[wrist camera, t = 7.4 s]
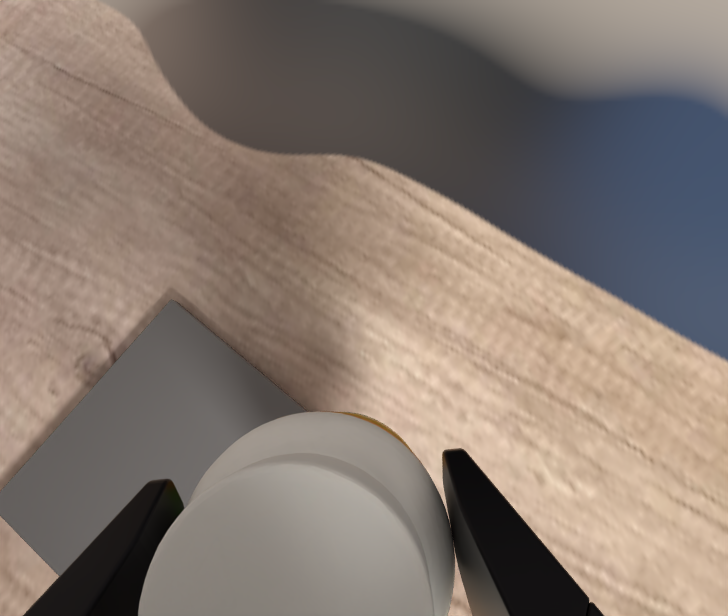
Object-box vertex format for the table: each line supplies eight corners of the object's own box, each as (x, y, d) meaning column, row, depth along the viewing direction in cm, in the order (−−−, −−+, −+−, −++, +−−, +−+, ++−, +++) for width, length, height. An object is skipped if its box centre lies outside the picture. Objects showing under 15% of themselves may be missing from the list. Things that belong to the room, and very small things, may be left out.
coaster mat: (187, 691, 18) (181, 701, 18) (0, 501, 20) (-12, 504, 19) (365, 459, 20) (364, 461, 19) (177, 302, 22) (171, 299, 21)
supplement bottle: (240, 448, 16) (35, 497, 7) (386, 387, 16) (392, 351, 7) (294, 613, 15) (141, 961, 5) (451, 545, 15) (567, 764, 6)
